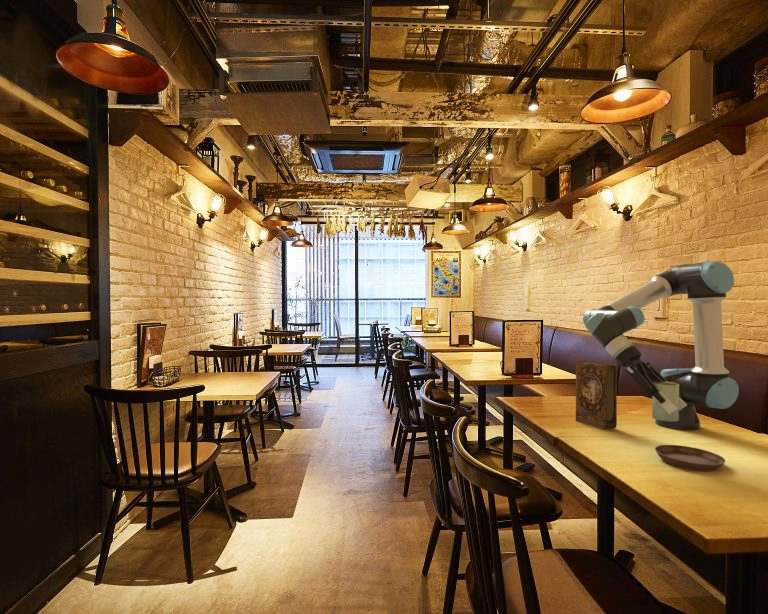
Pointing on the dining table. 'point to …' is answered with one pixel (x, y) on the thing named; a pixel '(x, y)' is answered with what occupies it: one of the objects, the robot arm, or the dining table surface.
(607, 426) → the book
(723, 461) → the plant saucer
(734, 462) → the dining table surface
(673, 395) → the pale green cup
